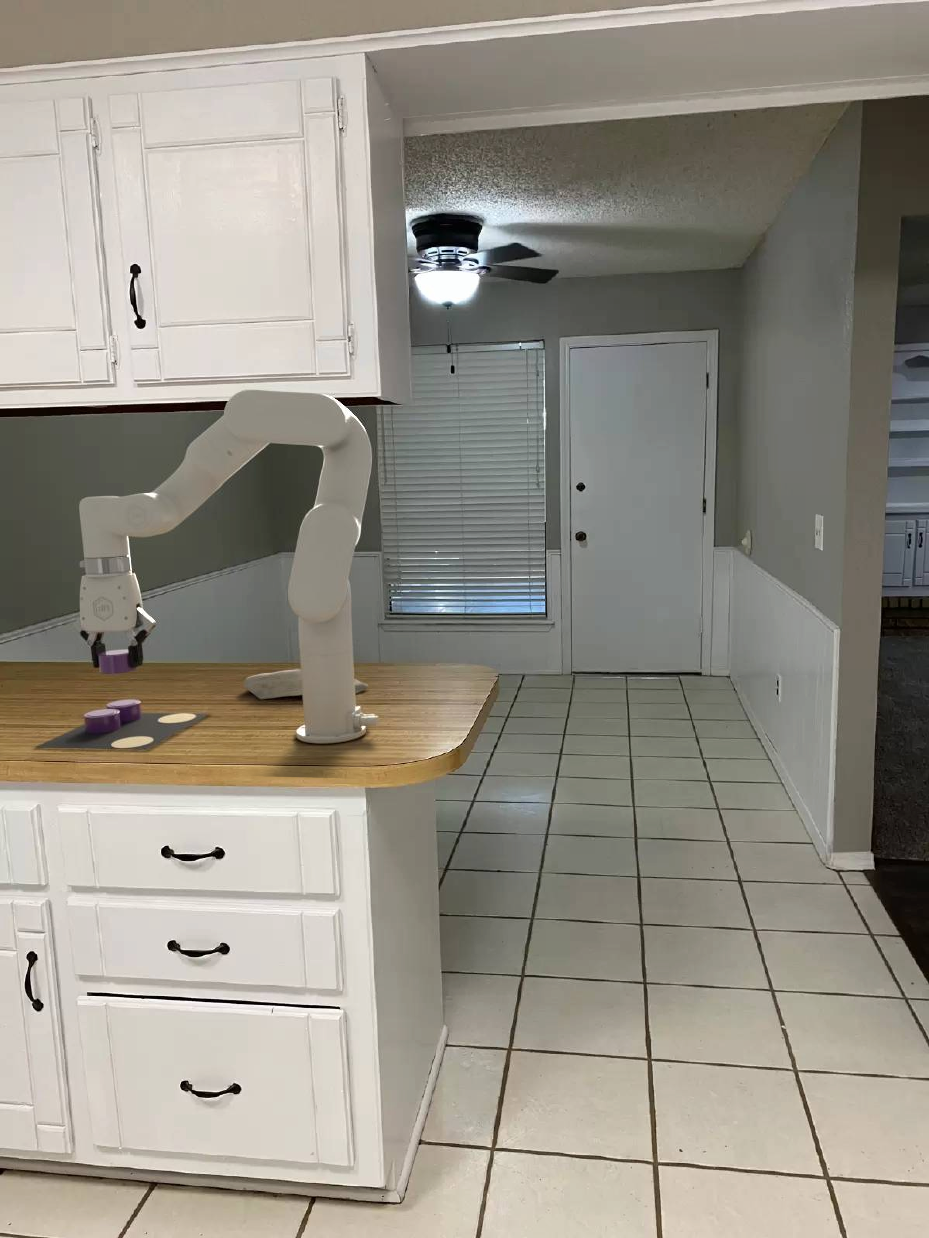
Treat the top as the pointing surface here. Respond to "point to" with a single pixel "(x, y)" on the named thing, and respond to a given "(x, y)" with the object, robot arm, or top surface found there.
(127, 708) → the dish
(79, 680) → the top surface
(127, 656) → the purple short cylinder
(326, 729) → the robot arm
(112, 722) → the dish
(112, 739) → the mat
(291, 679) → the stone
